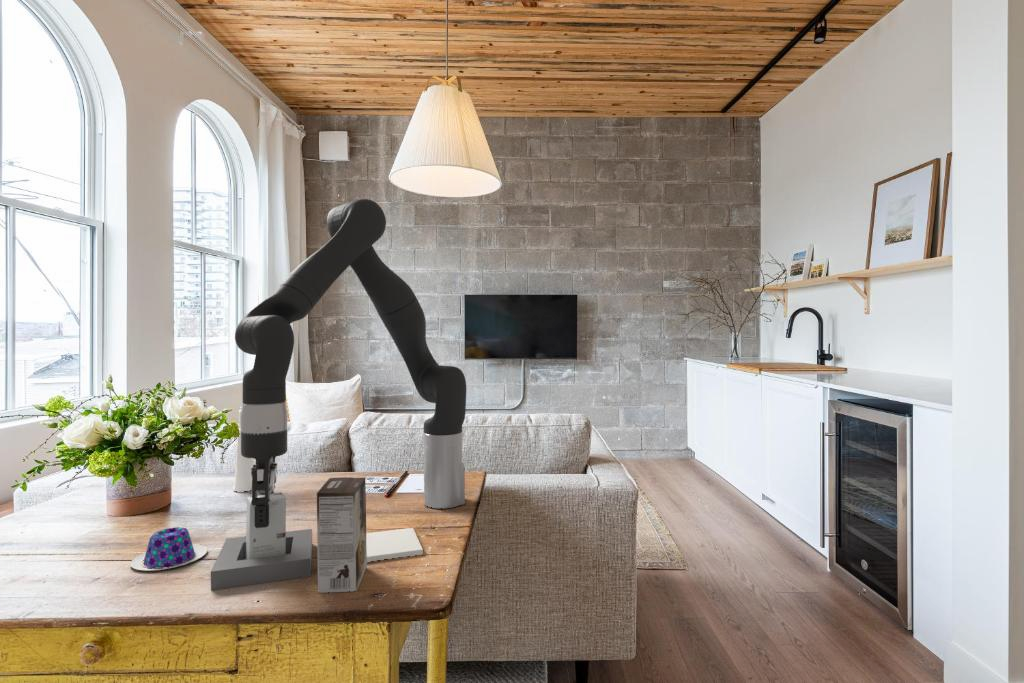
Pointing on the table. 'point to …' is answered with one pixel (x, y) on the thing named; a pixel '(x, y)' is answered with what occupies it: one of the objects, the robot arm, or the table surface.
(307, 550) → the grey square frame
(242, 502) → the table surface
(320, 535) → the coffee box
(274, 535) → the skincare box
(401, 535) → the white mat
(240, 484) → the cosmetic bottle
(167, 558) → the purple patterned hat
